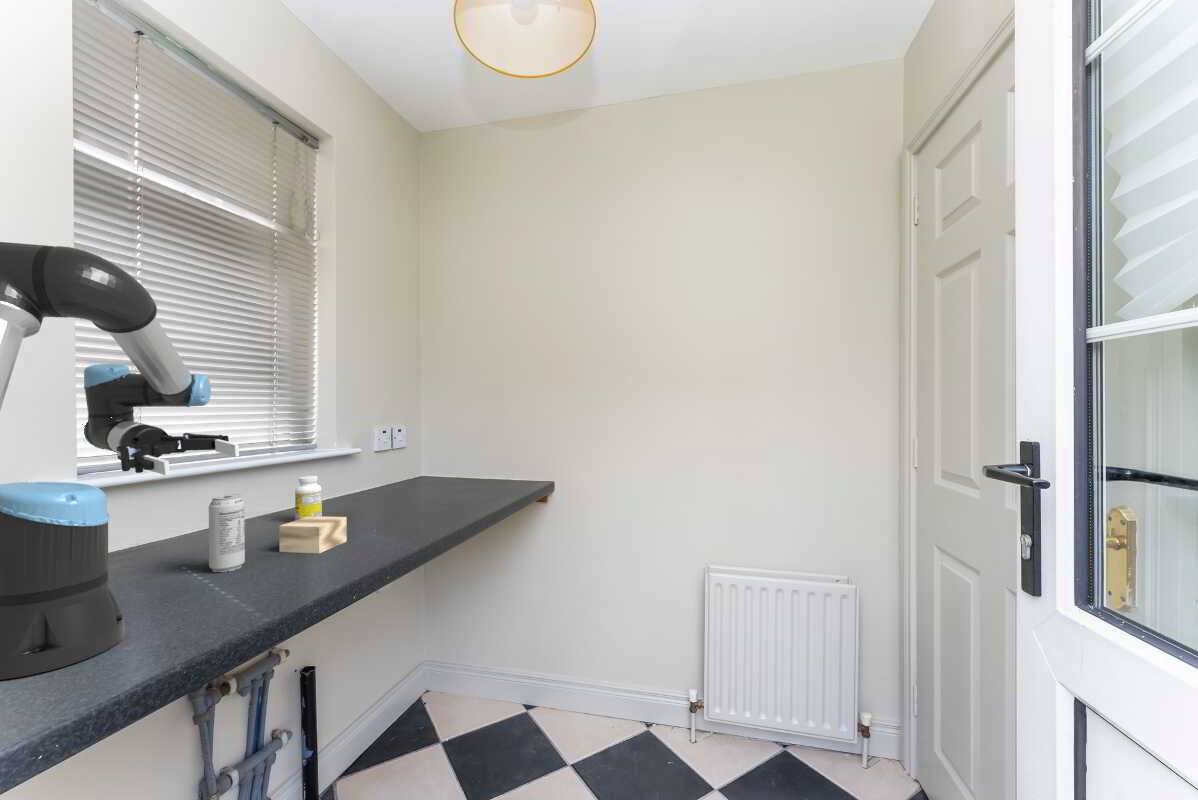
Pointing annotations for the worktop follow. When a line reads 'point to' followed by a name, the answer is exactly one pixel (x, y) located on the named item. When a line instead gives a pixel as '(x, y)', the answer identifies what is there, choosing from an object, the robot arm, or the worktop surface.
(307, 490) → the supplement bottle
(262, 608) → the worktop surface
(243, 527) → the energy drink can
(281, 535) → the oak block
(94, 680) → the worktop surface
